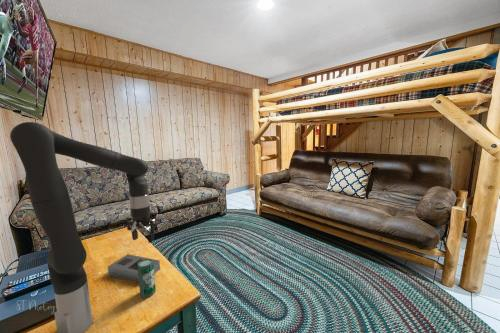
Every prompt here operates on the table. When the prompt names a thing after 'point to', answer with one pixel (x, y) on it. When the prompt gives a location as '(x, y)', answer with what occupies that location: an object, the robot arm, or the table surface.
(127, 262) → the block with square hole
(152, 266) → the can
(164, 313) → the table surface
